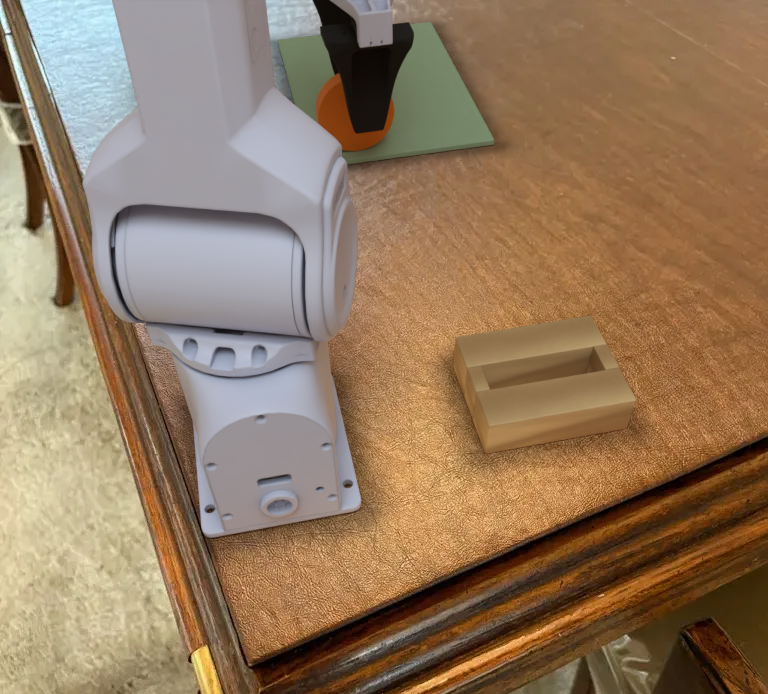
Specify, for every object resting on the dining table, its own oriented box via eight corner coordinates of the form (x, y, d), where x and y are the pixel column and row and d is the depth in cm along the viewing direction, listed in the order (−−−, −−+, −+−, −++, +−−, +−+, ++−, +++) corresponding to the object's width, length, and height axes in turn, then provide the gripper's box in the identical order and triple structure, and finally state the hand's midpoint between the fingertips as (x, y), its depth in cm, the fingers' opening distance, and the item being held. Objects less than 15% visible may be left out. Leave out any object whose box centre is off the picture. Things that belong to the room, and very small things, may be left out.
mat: (494, 144, 60) (494, 140, 60) (311, 169, 58) (311, 164, 58) (430, 26, 72) (430, 21, 72) (278, 44, 70) (277, 39, 70)
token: (399, 140, 59) (387, 67, 55) (327, 160, 59) (309, 89, 55) (396, 131, 60) (384, 59, 55) (325, 151, 60) (306, 81, 55)
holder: (627, 429, 43) (637, 399, 41) (484, 454, 42) (488, 425, 40) (583, 344, 47) (591, 314, 45) (452, 366, 46) (455, 336, 44)
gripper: (447, -83, 42) (437, 150, 53) (389, -166, 51) (392, 48, 62) (316, -70, 41) (333, 164, 52) (280, -157, 50) (302, 59, 61)
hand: (358, 102), depth 57 cm, fingers open, 7 cm apart
